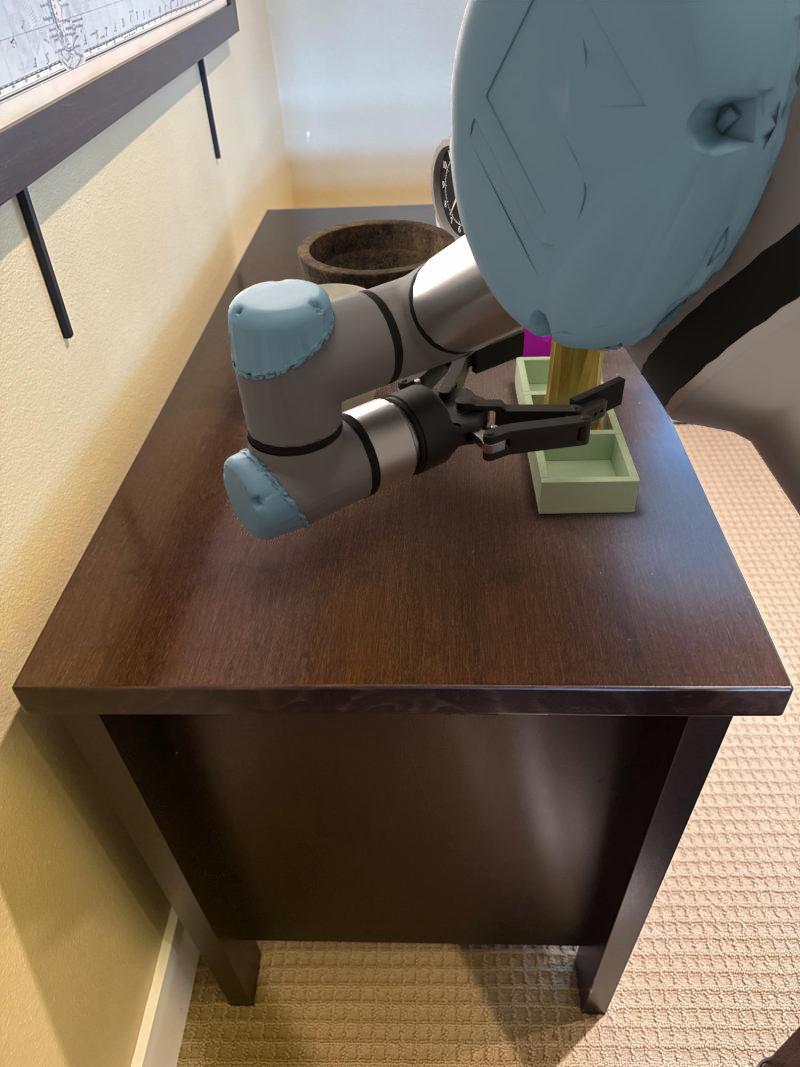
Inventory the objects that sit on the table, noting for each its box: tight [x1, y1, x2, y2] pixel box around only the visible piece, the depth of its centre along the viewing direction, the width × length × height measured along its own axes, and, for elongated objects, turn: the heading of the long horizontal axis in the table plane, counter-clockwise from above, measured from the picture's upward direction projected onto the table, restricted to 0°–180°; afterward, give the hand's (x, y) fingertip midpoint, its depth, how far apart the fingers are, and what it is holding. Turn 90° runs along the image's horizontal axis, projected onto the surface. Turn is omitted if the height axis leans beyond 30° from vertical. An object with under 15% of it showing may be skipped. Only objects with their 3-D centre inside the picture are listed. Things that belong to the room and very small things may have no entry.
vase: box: [544, 337, 606, 430], centre depth 79 cm, size 6×6×14 cm
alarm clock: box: [430, 135, 465, 241], centre depth 121 cm, size 18×8×20 cm, turn 25°
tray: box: [514, 357, 641, 515], centre depth 83 cm, size 26×9×4 cm, turn 179°
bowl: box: [297, 219, 455, 289], centre depth 109 cm, size 22×22×10 cm
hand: (568, 364), depth 78 cm, fingers open, 13 cm apart
